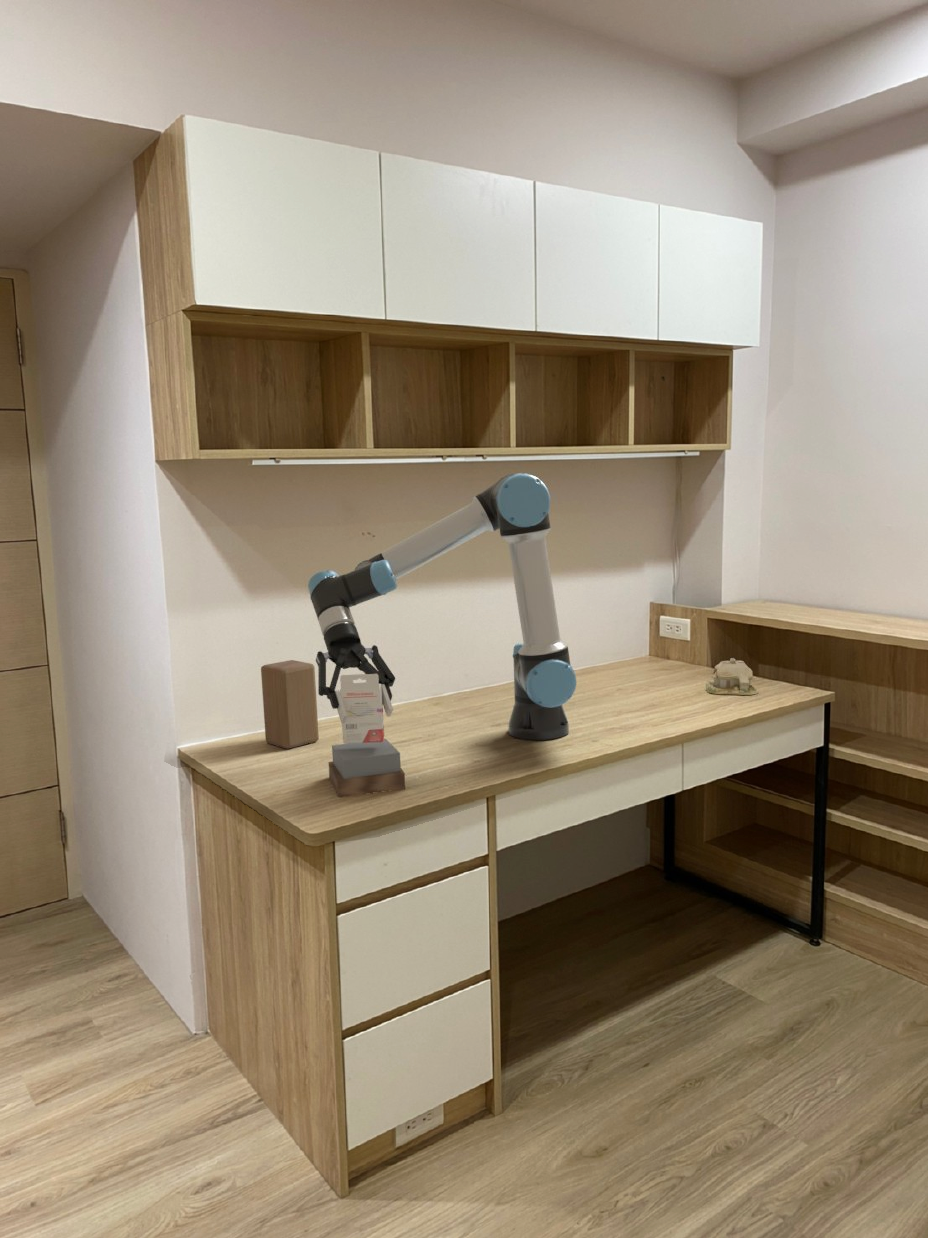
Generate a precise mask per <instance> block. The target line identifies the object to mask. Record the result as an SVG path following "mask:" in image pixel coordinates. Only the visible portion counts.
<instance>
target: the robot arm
mask: <svg viewBox="0 0 928 1238" xmlns="http://www.w3.org/2000/svg"><path fill="white" fill-rule="evenodd" d="M550 507H551V495H550V492H549V489H548V487H547V486H546V484H545V483H544V482H543V481H542V480H541V479H539V477H536V476H535V475H532V474H530V473H526V472H518V473H514V474H508V475H505V476H503V477H501V478H500V479H499V480H497V481H495V483H493V484H492V485H491V486H489V487H488V488H487V489H485V490H483V491H482V492H480V493H478V494H477V495H475V496H474V497H473V498H472V501H471V503H469V504H466V506H463V507H462V508H460V509H458V510H455V511H454V512H452V513H451V514H449V515H447V516H445V517H443V518H442V519H439V520H438V521H436V522H435V523H432V524H430V525H429V526H427V527H426V528H424V529H422V530H420V531H418V532H416V533H414V534H412V535H411V536H409V537H407V538H405V539H403V540H402V541H399V542H398V543H395V544H394V545H392V546H391V547H389V548H386V549H385V550H383V551H381V552H380V553H379V554H376V555H374V556H372V557H371V558H369V559H365V560H363V561H361V562H359V563H358V564H357V566H356V567H355V568H354V570H352V571H350V572H348V573H345V574H342V575H339V574H338V573H337V572H336V571H334V570H321V571H318V572H316V573H314V574H313V575H312V576H311V577H310V578H309V580H308V585H307V586H308V592H309V594H310V601H311V603H312V607H313V609H314V612H315V615H316V617H317V618H316V619H317V621H318V624H319V628H320V631H321V634H322V636H323V640H324V643H325V646H326V650H327V652H323V651H321V650H319V651H318V652H317V654H316V658H315V663H316V665H317V668H318V673H317V677H318V680H317V681H318V683H317V684H318V690H317V691H318V692H317V694H318V696H320V697H322V696H326V698H327V699H328V700H329V701H330V705H331V708H332V709H333V710H336V709H337V714H338V717H339V719H340V723H341V725H342V723H345V721H346V719H347V713H346V710H345V707H344V704H343V701H342V697H341V694H340V689H338V690H337V689H336V688H337V684H338V680H339V677H340V673H341V669H342V670H345V669H350V668H351V669H352V668H353V669H355V668H357V670H359V671H360V672H361V671H362V672H363V673H364V674H378V677H379V684H381V688H382V702H383V710H384V713H385V715H386V717H387V718H388V717H391V716H392V713H393V710H394V708H393V705H392V703H391V701H392V699H393V693H392V689H391V688H390V687H393V685H394V683H395V681H396V676H395V675H394V674H393V672H392V670H391V669H390V668H389V666H388V665H387V663H386V662H385V660H384V659H383V658H382V656H381V655H380V653H379V648H378V646H377V645H374V644H373V645H372V646H371V647H365V646H364V645H363V644H362V642H361V640H362V639H361V637H360V634H359V631H358V629H357V626H356V622H355V621H354V617H353V614H352V612H351V609H350V608H353V607H355V606H357V605H360V604H362V603H364V602H367V601H370V600H373V599H375V598H378V597H381V596H386V595H387V594H388V593H390V592H393V591H395V590H396V589H397V588H398V583H397V580H399V579H401V578H402V577H404V576H405V575H408V574H409V573H412V572H413V571H415V570H416V569H419V568H420V567H422V566H424V565H426V564H427V563H429V562H431V561H434V560H435V559H437V558H439V557H440V556H443V555H444V554H446V553H448V552H450V551H452V550H453V549H455V548H457V547H459V546H461V545H463V544H464V543H467V542H468V541H470V540H472V539H474V538H475V537H478V536H479V535H482V534H483V533H485V532H492V533H493V532H496V531H497V530H499V535H500V538H501V539H503V540H505V542H507V544H508V550H509V556H510V561H511V570H512V575H513V576H512V577H513V583H514V589H515V590H514V591H515V594H516V595H515V596H516V603H517V608H518V609H517V610H518V616H519V621H520V628H521V636H522V642H520V643H516V644H515V645H514V646H513V652H512V653H513V654H512V658H513V680H514V681H513V683H514V684H513V685H514V686H513V688H514V690H513V691H514V705H513V707H512V711H511V714H510V718H509V721H508V725H507V726H508V727H507V728H508V734H509V735H510V736H511V737H514V738H517V739H521V740H531V741H537V740H538V741H542V740H552V739H554V740H555V739H559V738H561V737H565V736H567V735H568V734H569V733H570V729H569V728H570V727H569V725H570V724H569V721H568V718H567V714H566V712H565V709H564V706H563V705H564V704H566V703H567V702H568V701H570V699H571V698H572V697H573V695H574V694H575V691H576V688H577V676H576V673H575V670H574V669H573V666H571V660H570V653H569V645H568V643H566V641H564V640H563V639H562V638H561V637H560V635H561V634H560V628H559V622H558V615H557V610H556V609H557V608H556V602H555V601H556V600H555V596H554V588H553V581H552V573H551V567H550V561H549V555H548V548H547V540H546V537H547V535H548V533H549V532H550V531H551V530H552V528H551V522H550V521H551V520H550V514H549V512H550ZM366 656H367V657H368V658H367V657H366ZM328 660H330V661H331V662H332V663H333V664H335V667H334V670H333V675H332V678H331V681H330V685H329V686H327V662H328ZM369 660H371V662H372V664H373V665H374V666H373V665H372V664H371V662H369Z"/></svg>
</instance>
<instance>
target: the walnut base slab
mask: <svg viewBox="0 0 928 1238" xmlns="http://www.w3.org/2000/svg"><path fill="white" fill-rule="evenodd" d="M328 774H329V775H328V776H329V779H330V782H331V784H332V787H333V788H334V791H335V792H336V795H337V797H338V798H343V797H344V796H345V797H351V796H350V795H353V796H358V795H359V796H360V795H362V796H363V795H368V794H367V793H370V794H374V793H373V792H378V793H383V792H382V791H386V792H390V791H389V790H394V791H400V790H401V789H402V790H406V773H405V771H404V770H403V769H402V768H401V771H399V772H392V773H385V774H378V775H371V776H364V777H357V778H350V779H344V778H343V777H342V775H341V774H340V772H339V771H338V770H337V768H336V767H335V765H334V764H333V761H328ZM402 790H401V791H402Z"/></svg>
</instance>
